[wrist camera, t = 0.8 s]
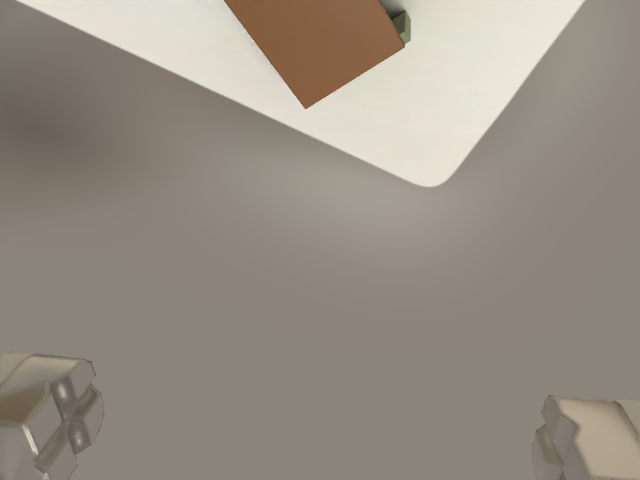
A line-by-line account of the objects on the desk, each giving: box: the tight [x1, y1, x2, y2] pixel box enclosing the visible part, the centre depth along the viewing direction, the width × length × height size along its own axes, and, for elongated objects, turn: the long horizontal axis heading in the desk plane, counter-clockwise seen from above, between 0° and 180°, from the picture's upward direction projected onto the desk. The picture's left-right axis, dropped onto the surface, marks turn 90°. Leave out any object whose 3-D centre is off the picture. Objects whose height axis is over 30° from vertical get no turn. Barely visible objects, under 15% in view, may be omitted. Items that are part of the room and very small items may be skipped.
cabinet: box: [224, 0, 411, 109], centre depth 39 cm, size 10×12×6 cm
